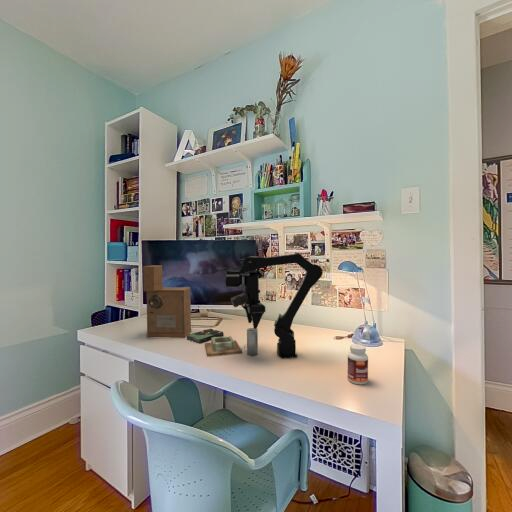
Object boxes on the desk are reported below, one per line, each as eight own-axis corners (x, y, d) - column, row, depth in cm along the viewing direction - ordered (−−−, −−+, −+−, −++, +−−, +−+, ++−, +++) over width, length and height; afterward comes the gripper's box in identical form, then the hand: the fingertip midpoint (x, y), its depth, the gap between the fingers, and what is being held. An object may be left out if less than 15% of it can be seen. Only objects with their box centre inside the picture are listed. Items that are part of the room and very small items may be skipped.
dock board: (235, 342, 130) (235, 333, 130) (241, 353, 116) (241, 343, 116) (204, 345, 127) (204, 336, 126) (207, 356, 113) (207, 346, 113)
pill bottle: (357, 386, 87) (357, 351, 87) (343, 378, 93) (343, 345, 92) (372, 382, 90) (372, 348, 89) (358, 375, 95) (357, 342, 95)
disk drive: (209, 333, 146) (186, 340, 135) (209, 328, 146) (186, 334, 135) (224, 337, 140) (200, 345, 128) (224, 331, 140) (200, 338, 128)
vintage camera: (143, 340, 135) (141, 266, 134) (155, 331, 149) (154, 264, 149) (182, 340, 134) (181, 266, 133) (191, 331, 148) (190, 264, 147)
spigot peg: (256, 351, 118) (256, 327, 118) (259, 355, 114) (258, 330, 114) (246, 352, 117) (245, 328, 117) (248, 356, 113) (248, 331, 113)
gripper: (228, 285, 122) (229, 321, 122) (236, 291, 104) (237, 333, 104) (253, 284, 125) (254, 319, 125) (265, 289, 107) (266, 331, 107)
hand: (252, 325), depth 115 cm, fingers open, 9 cm apart
